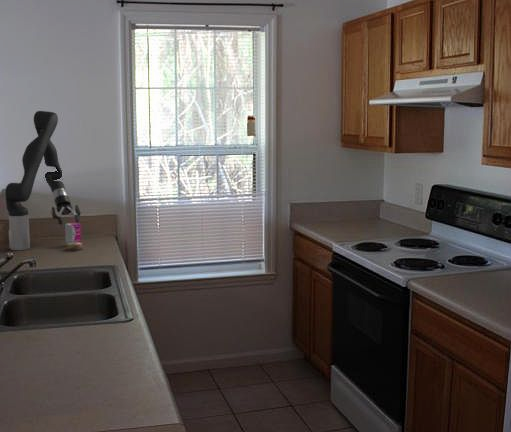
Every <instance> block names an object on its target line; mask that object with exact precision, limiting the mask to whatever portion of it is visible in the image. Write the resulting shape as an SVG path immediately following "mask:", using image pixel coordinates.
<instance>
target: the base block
mask: <svg viewBox="0 0 511 432" xmlns="http://www.w3.org/2000/svg"><path fill="white" fill-rule="evenodd" d="M82 250H83V243H82V241H81V242H71V243H66V242H65V251H67V252H79V251H82Z"/></svg>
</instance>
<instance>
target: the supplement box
mask: <svg viewBox="0 0 511 432" xmlns="http://www.w3.org/2000/svg"><path fill="white" fill-rule="evenodd" d="M64 229H65V244H66V243H71V242H81V243H82V224H81V223H79V222H78V223H76V222H70V223H69V222H68V223H65V227H64Z"/></svg>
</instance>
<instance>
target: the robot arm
mask: <svg viewBox="0 0 511 432" xmlns="http://www.w3.org/2000/svg"><path fill="white" fill-rule="evenodd" d="M58 122H59V117H58V114H57V113H56V112H53V111H44V110H37V111H36V112H35V113H34V115H33V126H34V129H35V131H36V134H37V136H36V138H34V139H33V140H31V142H29V144H28V145H26V147H25V150H24V153H23V155H22V159H21V161H22V166H23V176H22V180H21V181H20V182H10V183H8V184H7V185H6V188H5V192H4V194H5V201H6V202H5V204H6V210H7V212H8V220H9V221H8V224H9V225H8V226H9V229H8V241H9V243H8V245H9V249H10V250H11V251H25V250H29V249H31V241H30V239H31V238H30V223H29V222H30V221H29V218H30V217H29V209H28V208H26V207H25V206H24V205H22V203H23V202H27V201H28V200H29V199H30V197H31V195H32V191H33V188H34V184H35V180H36V176H37V174H38V171H39V168H40V165H41V163H42V162H43V161H44V160H45V161H44V164H46V167H51V168H56V169H57V171H58V172H57V171H55V172H47V173H46V174H45V178H46V181H47V182H46V181H45V182H46V184H47V183H48V184H47V185H48V186H49V188H50V191H51V193H52V197H53V201H54V203H55V206H56V207H54V206H52V207H51V210H50V212H51V216H52V219H53V220H55V219H56V221H57V223H58V224H59V225H60V226H63V220H62V218H61V217H62V216H68V215H70V216H71V217H73V218H74V221H75V223H78V224H79V222H80V219H79V217H81V214H82V213H81V210H80V208H79V206H78V204H76V205H74V206H72V204H71V201H70V198H69V195H68V192H67V191H66V187H65V184H64V182H63V181H62V180H61V181H54V180H57V179H60V178H61V177H62V171H63V169H62V167H61V165H60V162H59V159H58V157H59V156H58V151H57V148H56V147H55V144H54V143H53V142H52V140H51V138H52V136H53V134H54V132H55V130H56V128H57V126H58ZM43 159H44V160H43ZM60 167H61V168H60ZM61 169H62V170H61ZM21 202H22V203H21ZM57 213H58V214H57Z"/></svg>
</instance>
